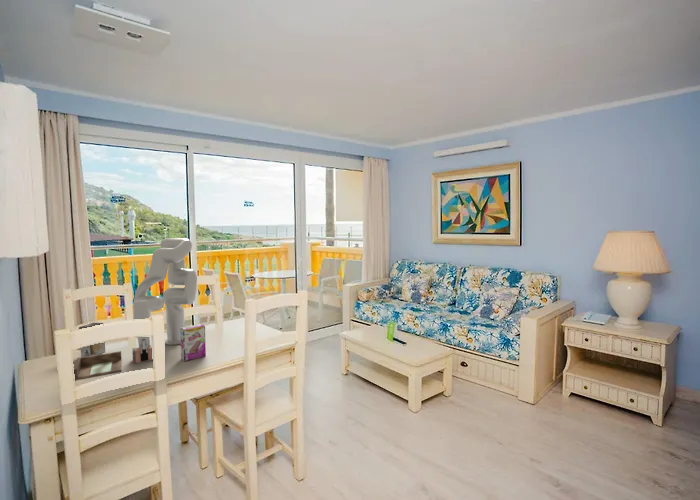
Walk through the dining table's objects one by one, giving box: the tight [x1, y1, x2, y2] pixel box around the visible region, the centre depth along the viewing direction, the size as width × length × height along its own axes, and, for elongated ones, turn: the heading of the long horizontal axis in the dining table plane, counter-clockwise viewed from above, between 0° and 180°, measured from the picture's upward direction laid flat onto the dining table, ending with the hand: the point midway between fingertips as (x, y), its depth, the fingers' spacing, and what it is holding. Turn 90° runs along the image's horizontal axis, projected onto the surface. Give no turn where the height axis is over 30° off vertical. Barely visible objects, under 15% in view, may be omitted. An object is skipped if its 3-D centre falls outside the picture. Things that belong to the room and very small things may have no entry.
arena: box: [73, 350, 123, 381], centre depth 177 cm, size 18×16×5 cm
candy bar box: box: [180, 323, 207, 362], centre depth 191 cm, size 11×5×16 cm, turn 134°
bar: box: [132, 345, 153, 364], centre depth 189 cm, size 10×5×6 cm, turn 120°
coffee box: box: [78, 322, 106, 358], centre depth 196 cm, size 9×6×16 cm
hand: (144, 358), depth 189 cm, fingers closed on bar, 5 cm apart
